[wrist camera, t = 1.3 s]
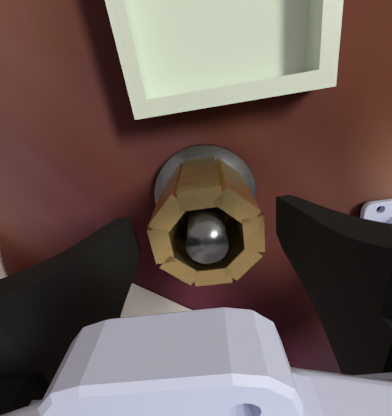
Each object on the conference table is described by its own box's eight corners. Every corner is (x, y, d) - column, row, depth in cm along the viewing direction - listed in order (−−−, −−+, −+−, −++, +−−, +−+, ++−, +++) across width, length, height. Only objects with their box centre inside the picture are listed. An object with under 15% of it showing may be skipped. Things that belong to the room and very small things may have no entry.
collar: (241, 152, 14) (262, 179, 9) (248, 240, 16) (266, 295, 12) (157, 164, 14) (137, 197, 9) (176, 248, 17) (168, 305, 12)
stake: (251, 136, 14) (284, 161, 8) (256, 229, 16) (283, 294, 11) (145, 152, 14) (111, 187, 9) (167, 240, 17) (151, 308, 12)
